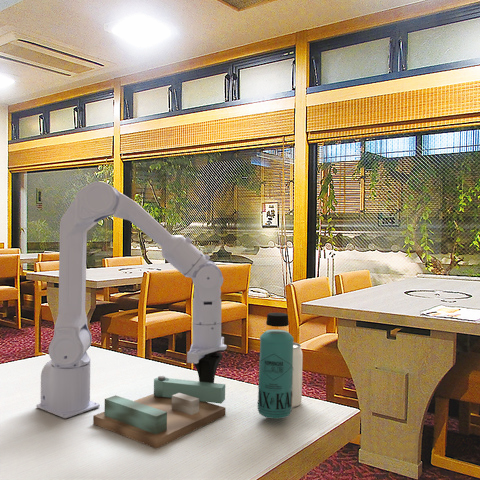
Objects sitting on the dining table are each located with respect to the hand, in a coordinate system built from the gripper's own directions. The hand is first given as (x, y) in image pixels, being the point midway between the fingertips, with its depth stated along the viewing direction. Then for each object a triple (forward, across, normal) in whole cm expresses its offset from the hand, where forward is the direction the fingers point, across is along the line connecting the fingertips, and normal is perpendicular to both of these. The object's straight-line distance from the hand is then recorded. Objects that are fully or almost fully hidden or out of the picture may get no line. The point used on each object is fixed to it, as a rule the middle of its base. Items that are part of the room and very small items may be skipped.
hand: (206, 390), depth 99 cm
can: (+3, +7, -14) cm, 17 cm away
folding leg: (+1, -2, +3) cm, 4 cm away
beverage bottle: (+3, -2, -15) cm, 15 cm away
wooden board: (+3, -10, +5) cm, 11 cm away
